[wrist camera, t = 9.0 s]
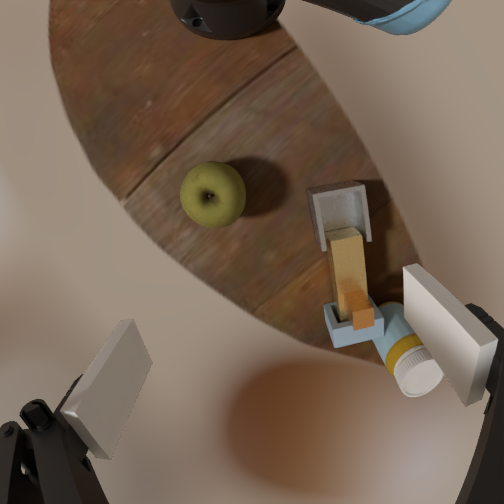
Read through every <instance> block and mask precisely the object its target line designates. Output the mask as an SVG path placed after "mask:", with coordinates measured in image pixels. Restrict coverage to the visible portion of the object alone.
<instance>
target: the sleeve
mask: <svg viewBox="0 0 504 504" xmlns="http://www.w3.org/2000/svg"><path fill="white" fill-rule="evenodd" d="M306 190H307V195H308V200H309V206H310V211H311V217H312V222H313V228H314V234H315V239H316V241H317V243H318V245H319V247H320V249H321V250H322V251H327V248H326V241H325V234H324V233H325V232H330V231H334V230H339V229H344V228H349V227H354V228H355V229H356V230H357V231H358V232H359V233H360V234H361V235H362V237H363V238H364V239H365V240H366V241H367V242H370V241H372V238H371V229H370V220H369V212H368V204H367V197H366V190H365V185H364V184H361V183H359V182H357V181H354V180H351V181H345V182H339V183H334V184H328V185H323V186H318V187H313V188H307V189H306Z"/></svg>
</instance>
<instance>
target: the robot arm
mask: <svg viewBox="0 0 504 504" xmlns="http://www.w3.org/2000/svg"><path fill="white" fill-rule="evenodd" d="M170 1H171V6H172V9H173V11H174V13H175V14H176V16H177V17H178V19H179V20H180V22H181V23H182V24H183V25H184V26H185V27H186V28H187V29H189V30H190V31H192V32H193V33H195V34H197V35H200V36H202V37H206V38H210V39H215V40H235V39H241V38H245V37H248V36H251V35H254V34H256V33H258V32H260V31H262V30H264V29H265V28H267V27H268V26H269V25H271V24H272V23H273V22H274V21H275V20H276V19H277V17H278V16H279V15H280V13H281V11H282V10H283V7H284V5H285V0H170ZM303 1H306V2H309V3H312V4H315V5H318V6H321V7H324V8H327V9H330V10H332V11H335V12H338V13H341V14H343V15H346V16H348V17H351V18H353V19H354V21H356V22H358V23H360V24H365V25H370V26H373V27H375V28H378V29H380V30H382V31H385V32H387V33H390V34H393V35H408V34H412V33H415V32H417V31H419V30H421V29H423V28H425V27H426V26H428V25H429V24H430V23H432V22H433V21H434V20H435V19H436V18H437V17H438V16H439V15H440V14H441V13H442V12H443V11H444V10H445V9H446V7H447V6H448V5H449V4H450V2H451V1H452V0H303ZM403 278H404V318H405V319H406V321H407V322H408V323H409V325H410V326H411V327H412V329H413V330H414V332H415V333H416V334H417V336H418V337H419V339H420V340H421V341H422V343H423V344H424V346H425V347H426V348H427V350H428V351H429V353H430V354H431V356H432V357H433V359H434V360H435V362H436V363H437V364H438V366H439V367H440V369H441V370H442V372H443V373H444V375H445V376H446V378H447V379H448V381H449V382H450V384H451V385H452V387H453V388H454V390H455V392H456V393H457V395H458V396H459V398H460V399H461V401H462V403H463V404H464V406H465V407H466V406H468V405H470V404H473V403H475V402H477V401H479V400H481V399H482V397H483V394H484V391H485V388H486V389H487V390H488V391H489V393H490V397H489V401H488V403H487V406H486V409H485V411H484V414H485V417H484V421H483V425H482V429H481V432H480V436H479V439H478V443H477V446H476V449H475V453H474V456H473V458H472V461H471V465H470V467H469V470H468V473H467V476H466V478H465V481H464V483H463V486H462V488H461V491H460V493H459V496H458V498H457V501H456V503H455V504H504V329H503V328H502V327H501V326H500V325H499V324H498V323H497V322H496V321H494V319H493V318H492V317H491V316H488V314H487V313H486V312H485V311H484V310H483V309H482V308H481V307H478V306H476V305H474V304H472V303H471V304H467V305H463V304H462V303H461V302H460V301H459V300H458V299H457V298H456V297H454V296H453V295H452V294H451V293H450V292H449V291H448V290H447V289H446V288H445V287H444V286H442V285H441V284H440V283H439V282H438V281H437V280H436V279H435V278H433V277H432V276H431V275H430V274H429V273H428V272H427V271H425V270H424V269H423V268H422V267H421V266H420V265H419V264H413V265H408V266H404V267H403ZM151 365H152V360H151V358H150V356H149V354H148V352H147V349H146V347H145V345H144V343H143V340H142V338H141V336H140V334H139V331H138V329H137V327H136V324H135V322H134V319H130V320H122V321H120V322H119V324H118V325H117V327H116V328H115V330H114V331H113V332H112V333H111V335H110V336H109V338H108V339H107V341H106V342H105V344H104V345H103V347H102V348H101V349H100V351H99V352H98V354H97V355H96V357H95V358H94V359H93V361H92V362H91V364H90V365H89V367H88V368H87V370H86V371H85V373H84V374H82V375H81V376H80V377H78V378H77V380H75V381H74V383H73V384H72V386H71V387H70V390H68V392H67V393H66V396H64V398H63V399H62V401H61V403H60V404H59V405H58V407H57V408H56V410H55V412H54V413H52V411H51V410H50V408H49V407H48V406H47V404H46V403H45V401H44V400H41V399H36V400H32V401H30V402H29V403H27V404H26V405H25V406H24V407H23V408H22V410H21V412H20V417H21V418H22V420H23V421H24V422H25V424H26V425H27V426H28V428H29V429H23V430H22V428H21V427H20V426H19V424H18V423H17V422H15V421H10V422H7V423H5V424H3V425H2V426H1V428H0V504H109V502H108V501H107V498H106V496H105V494H104V492H103V490H102V488H101V485H100V483H99V481H98V478H97V476H96V474H95V471H94V469H93V467H92V465H91V462H90V460H89V459H88V457H87V456H86V454H87V451H88V449H89V450H90V451H91V452H92V453H93V455H94V456H95V457H96V458H101V459H110V460H111V459H112V457H113V454H114V451H115V449H116V447H117V444H118V442H119V440H120V437H121V434H122V432H123V430H124V427H125V425H126V423H127V420H128V418H129V416H130V413H131V411H132V409H133V406H134V404H135V402H136V399H137V397H138V395H139V392H140V390H141V388H142V386H143V383H144V381H145V379H146V376H147V374H148V372H149V370H150V368H151ZM21 466H22V467H23V468H24V469H25V474H23V473H22V471H21Z"/></svg>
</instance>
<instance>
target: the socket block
mask: <svg viewBox="0 0 504 504" xmlns="http://www.w3.org/2000/svg"><path fill="white" fill-rule="evenodd" d="M368 299H369V301H370V302H371V304H372V305H373V307H374V323H375V326H372V327H368V328H364V329H359V330H355V331H354V329H353V327H352V325H351V323H350V321H347V322H342V323H338V321H337V318H336V312H335V304H334V302H332V303H328V304H323V305H324V312H325V320H326V324H327V327H328V330H329V333H330V336H331V339H332V342H333V345H334V348H337V347H342V346H346V345H351V344H355V343H359V342H363V341H367V340H371V339H375V338H379V337H383V336H384V317H383V316H382V314H381V313H380V311H379V309H378V308H377V306H376V305H375V303H374V302H373V300H372V299H371V297H370V296H369V294H368Z"/></svg>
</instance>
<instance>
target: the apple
mask: <svg viewBox="0 0 504 504" xmlns="http://www.w3.org/2000/svg"><path fill="white" fill-rule="evenodd" d="M180 199H181V203H182V206H183V208H184V210H185V212H186V213H187V214H188V216H189V217H190V218H191V219H193V220H194V221H195V222H197V223H198V224H200V225H202V226H205V227H209V228H221V227H225V226H228V225H230V224H232V223H233V222H235V221H236V220H237V219H238V218H239V216H240V215H241V213H242V212H243V210H244V207H245V203H246V189H245V185H244V182H243V180H242V178H241V176H240V175H239V173H238V172H237V171H236V170H235V169H234V168H232V167H231V166H229V165H227V164H225V163H221V162H216V161H208V162H204V163H201V164H198V165H197V166H195V167H194V168H193V169H191V170H190V171H189V173H188V174H187V175H186V177H185V179H184V181H183V183H182V186H181V190H180Z"/></svg>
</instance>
